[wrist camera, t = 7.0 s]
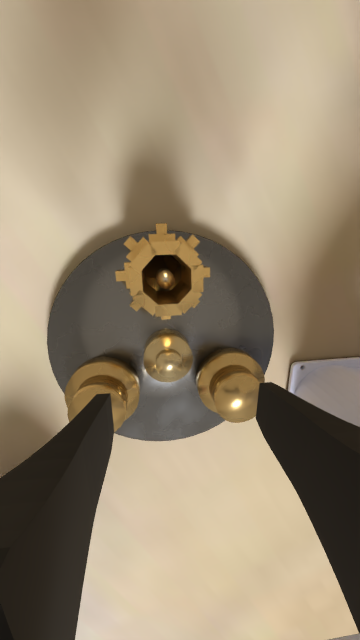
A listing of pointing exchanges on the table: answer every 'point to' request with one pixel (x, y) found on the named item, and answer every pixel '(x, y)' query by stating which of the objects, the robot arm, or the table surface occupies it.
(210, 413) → the carrier
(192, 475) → the table surface
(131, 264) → the planet gear
